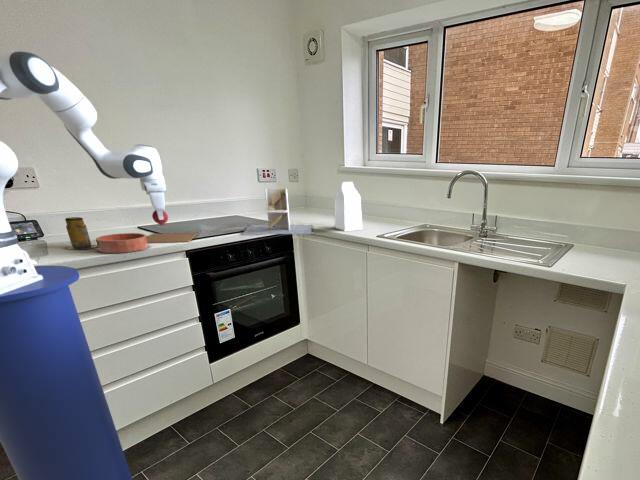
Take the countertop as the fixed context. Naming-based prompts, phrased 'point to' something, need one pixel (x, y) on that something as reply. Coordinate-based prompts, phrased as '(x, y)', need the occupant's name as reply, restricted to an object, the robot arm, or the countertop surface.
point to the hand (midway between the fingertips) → (160, 218)
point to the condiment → (78, 233)
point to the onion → (156, 219)
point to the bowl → (122, 242)
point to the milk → (348, 208)
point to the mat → (170, 237)
